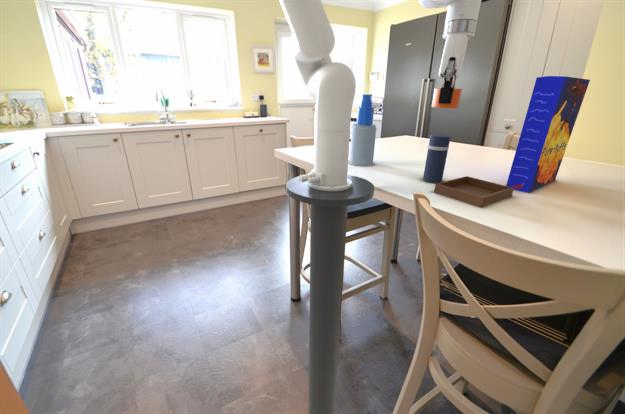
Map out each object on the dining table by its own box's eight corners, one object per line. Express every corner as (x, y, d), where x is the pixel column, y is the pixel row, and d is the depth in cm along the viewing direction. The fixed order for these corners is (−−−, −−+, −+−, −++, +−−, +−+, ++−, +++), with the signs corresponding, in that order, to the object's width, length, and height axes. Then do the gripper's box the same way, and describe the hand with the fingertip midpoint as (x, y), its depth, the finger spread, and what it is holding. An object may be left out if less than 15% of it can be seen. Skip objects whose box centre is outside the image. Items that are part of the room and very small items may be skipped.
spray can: (434, 184, 86) (443, 137, 81) (418, 179, 90) (426, 134, 85) (445, 181, 89) (454, 136, 83) (430, 177, 93) (437, 133, 88)
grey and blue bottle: (376, 162, 111) (383, 94, 102) (367, 167, 104) (374, 94, 95) (355, 159, 116) (360, 94, 106) (345, 163, 109) (350, 93, 99)
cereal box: (528, 192, 79) (566, 75, 68) (505, 187, 84) (537, 76, 73) (554, 180, 91) (590, 78, 80) (533, 176, 96) (564, 79, 85)
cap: (448, 108, 77) (452, 88, 75) (426, 106, 82) (429, 88, 80) (463, 108, 80) (467, 89, 78) (441, 106, 86) (444, 89, 84)
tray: (481, 207, 69) (483, 197, 68) (433, 192, 79) (435, 183, 78) (511, 196, 76) (514, 187, 75) (464, 183, 87) (466, 176, 86)
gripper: (445, 37, 83) (434, 102, 90) (440, 25, 68) (427, 103, 75) (474, 36, 80) (460, 103, 86) (475, 22, 65) (459, 104, 72)
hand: (445, 102), depth 81 cm, fingers closed on cap, 7 cm apart
